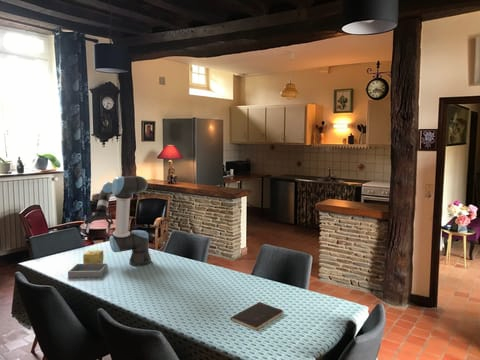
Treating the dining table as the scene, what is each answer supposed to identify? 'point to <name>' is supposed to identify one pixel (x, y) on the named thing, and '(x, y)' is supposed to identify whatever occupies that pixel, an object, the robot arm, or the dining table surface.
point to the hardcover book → (257, 315)
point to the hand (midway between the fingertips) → (97, 232)
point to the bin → (87, 271)
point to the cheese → (93, 257)
